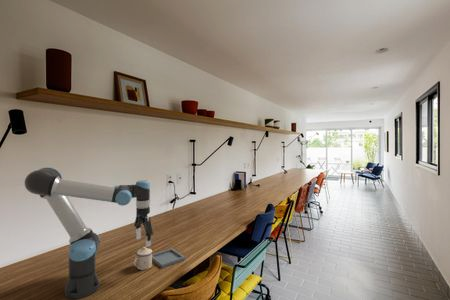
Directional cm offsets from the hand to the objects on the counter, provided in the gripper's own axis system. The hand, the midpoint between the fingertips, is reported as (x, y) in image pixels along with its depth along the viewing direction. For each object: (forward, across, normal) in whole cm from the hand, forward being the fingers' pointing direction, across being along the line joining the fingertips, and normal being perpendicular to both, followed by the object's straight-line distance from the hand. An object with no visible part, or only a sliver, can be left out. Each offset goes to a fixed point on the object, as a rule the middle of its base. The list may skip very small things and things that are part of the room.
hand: (143, 242), depth 147 cm
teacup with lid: (+15, 0, 0) cm, 15 cm away
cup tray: (+15, 0, -16) cm, 22 cm away
